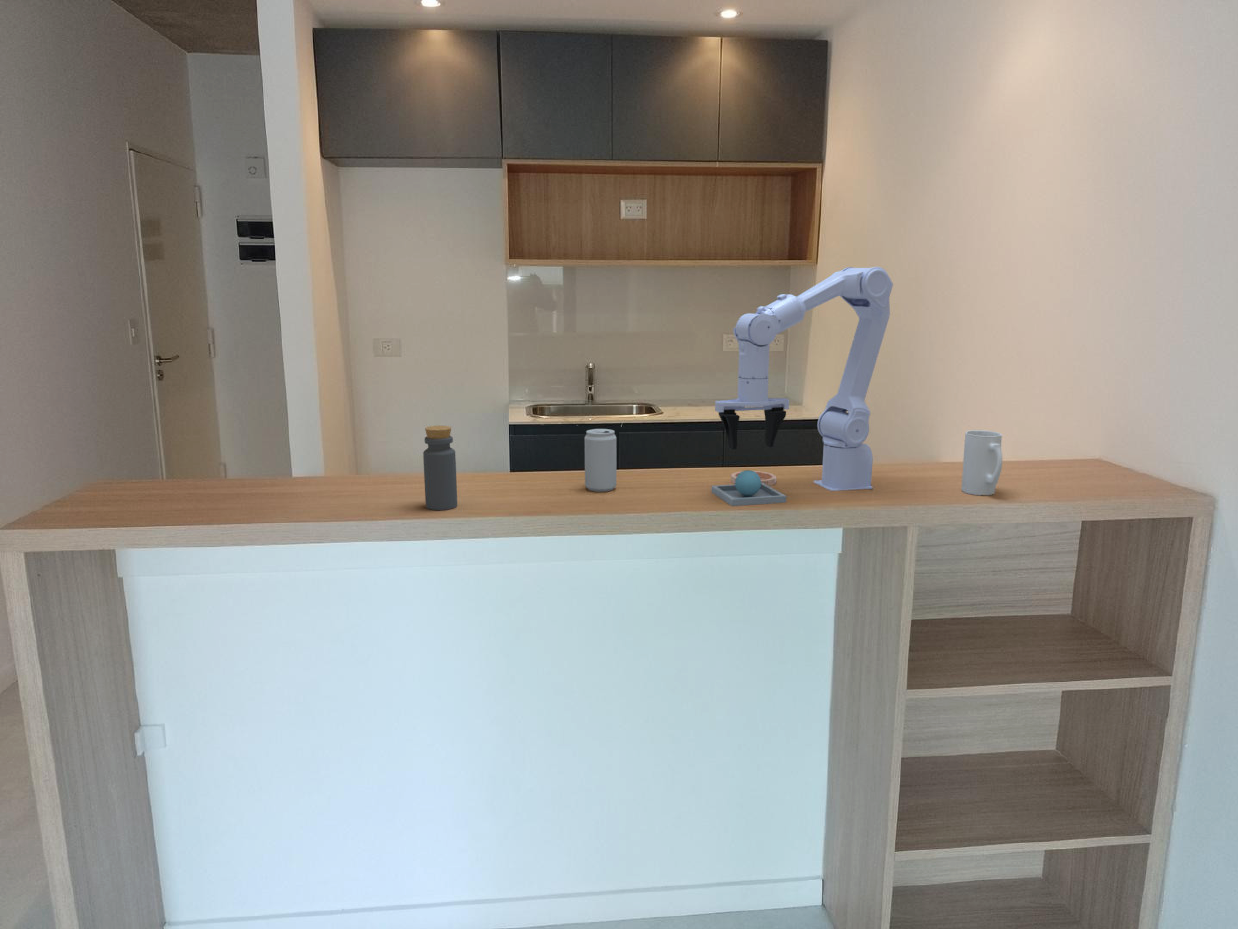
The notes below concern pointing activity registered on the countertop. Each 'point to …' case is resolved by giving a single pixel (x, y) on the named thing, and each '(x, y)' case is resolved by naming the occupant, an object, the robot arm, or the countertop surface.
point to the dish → (764, 476)
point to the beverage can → (600, 460)
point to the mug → (981, 462)
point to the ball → (748, 483)
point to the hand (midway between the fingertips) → (751, 447)
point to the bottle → (439, 469)
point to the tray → (737, 499)
